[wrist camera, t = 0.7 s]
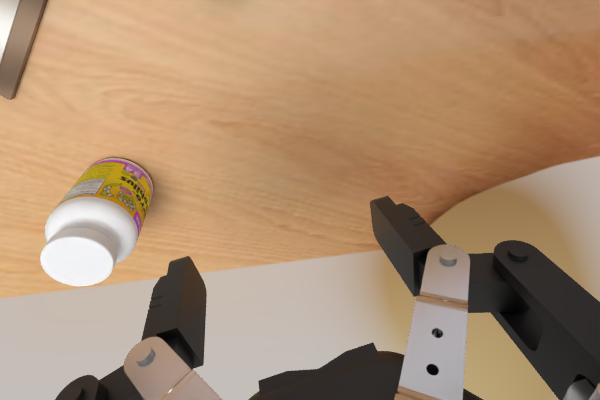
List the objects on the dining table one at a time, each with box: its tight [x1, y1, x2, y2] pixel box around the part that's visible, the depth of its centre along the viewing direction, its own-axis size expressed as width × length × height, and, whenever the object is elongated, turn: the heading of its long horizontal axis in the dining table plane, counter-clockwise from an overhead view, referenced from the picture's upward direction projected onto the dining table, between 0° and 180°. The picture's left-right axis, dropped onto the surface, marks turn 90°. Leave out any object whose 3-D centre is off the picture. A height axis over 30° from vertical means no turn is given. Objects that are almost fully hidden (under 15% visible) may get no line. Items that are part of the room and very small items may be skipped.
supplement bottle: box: [40, 158, 153, 286], centre depth 29 cm, size 7×7×13 cm
